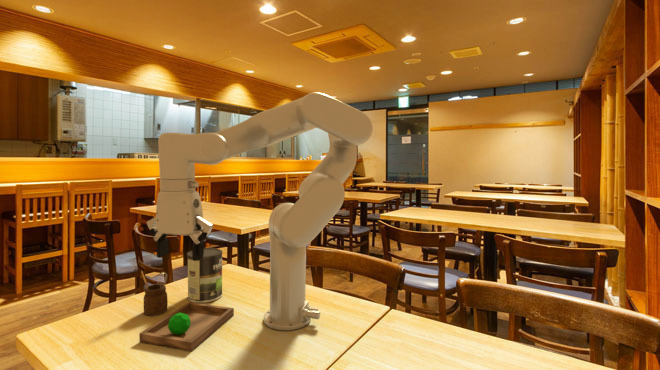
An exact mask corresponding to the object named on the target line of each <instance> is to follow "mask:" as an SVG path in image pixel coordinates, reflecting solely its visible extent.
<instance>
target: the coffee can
mask: <svg viewBox="0 0 660 370" xmlns="http://www.w3.org/2000/svg"><path fill="white" fill-rule="evenodd" d="M186 257H187V300H188V301H189V302H193V303H201V304H207V303H211V302H214V301H218V300H219V299H221V298H222V297H223V250H222V249H220V248H214V247H206V248H205V247H204V254H203V258H201V259H199V260H197V261H193V257H192V250H190V251H187V253H186Z"/></svg>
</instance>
